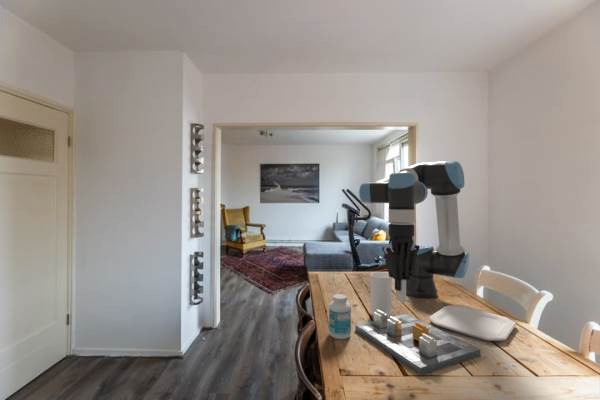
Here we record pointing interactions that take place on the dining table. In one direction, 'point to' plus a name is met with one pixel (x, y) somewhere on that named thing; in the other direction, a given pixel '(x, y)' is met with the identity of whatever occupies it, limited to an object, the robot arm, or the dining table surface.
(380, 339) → the panel
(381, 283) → the cup
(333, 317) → the pill bottle
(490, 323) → the plate
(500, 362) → the dining table surface
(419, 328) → the block
